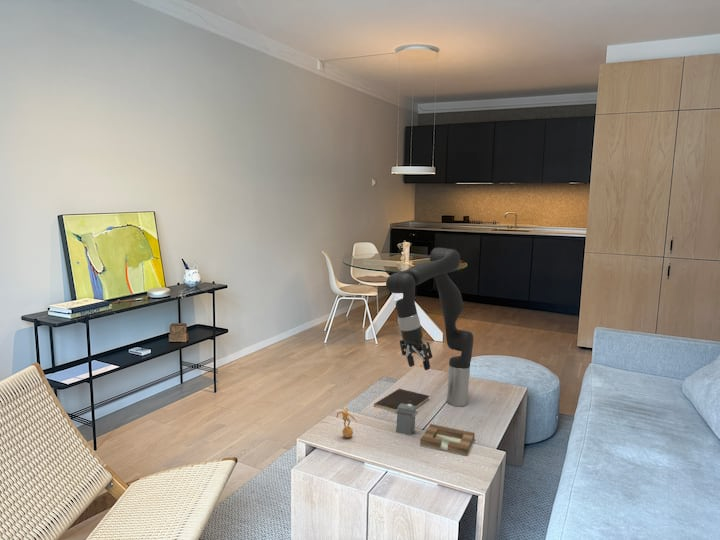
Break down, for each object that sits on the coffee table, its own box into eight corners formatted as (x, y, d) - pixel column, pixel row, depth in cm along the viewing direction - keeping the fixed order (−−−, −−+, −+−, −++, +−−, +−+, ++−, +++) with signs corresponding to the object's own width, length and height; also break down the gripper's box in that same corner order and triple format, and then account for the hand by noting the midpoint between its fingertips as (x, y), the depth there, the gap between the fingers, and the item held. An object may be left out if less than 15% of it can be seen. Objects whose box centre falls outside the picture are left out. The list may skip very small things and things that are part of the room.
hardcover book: (429, 400, 233) (429, 395, 233) (407, 416, 214) (407, 411, 213) (397, 393, 241) (398, 388, 241) (373, 407, 222) (374, 402, 222)
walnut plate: (430, 430, 200) (430, 423, 200) (474, 439, 194) (474, 432, 193) (420, 445, 186) (420, 439, 186) (466, 456, 180) (467, 449, 180)
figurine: (359, 437, 191) (361, 406, 189) (352, 444, 185) (353, 412, 184) (340, 432, 194) (341, 402, 193) (332, 438, 189) (333, 407, 188)
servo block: (397, 427, 202) (398, 400, 200) (416, 431, 199) (418, 403, 197) (393, 431, 197) (395, 404, 196) (413, 435, 194) (415, 407, 193)
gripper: (430, 324, 183) (440, 366, 186) (405, 321, 195) (414, 361, 198) (415, 331, 179) (425, 374, 182) (390, 328, 191) (399, 368, 193)
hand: (419, 367), depth 190 cm, fingers open, 8 cm apart
